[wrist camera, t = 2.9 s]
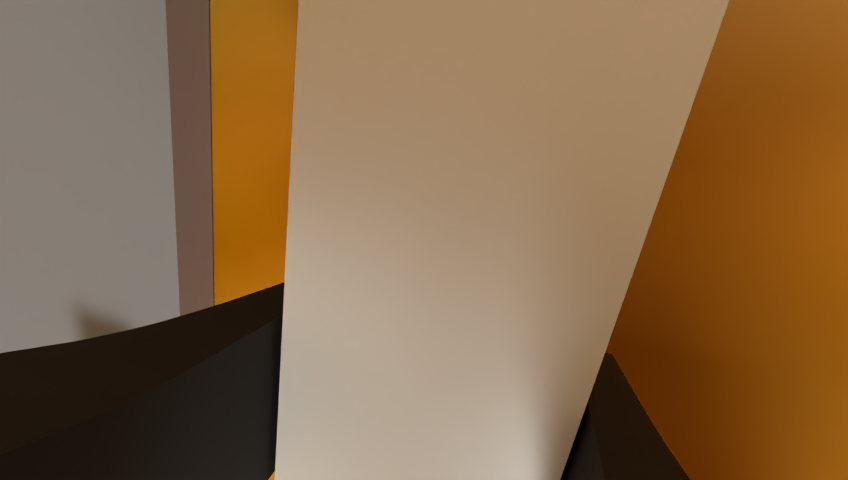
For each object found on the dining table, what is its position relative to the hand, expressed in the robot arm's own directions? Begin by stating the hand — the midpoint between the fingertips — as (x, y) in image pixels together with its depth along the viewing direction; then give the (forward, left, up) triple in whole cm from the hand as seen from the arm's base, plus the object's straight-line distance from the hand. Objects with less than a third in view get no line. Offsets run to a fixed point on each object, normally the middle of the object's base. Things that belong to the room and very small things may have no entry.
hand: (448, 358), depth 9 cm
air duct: (0, 0, -2) cm, 2 cm away
